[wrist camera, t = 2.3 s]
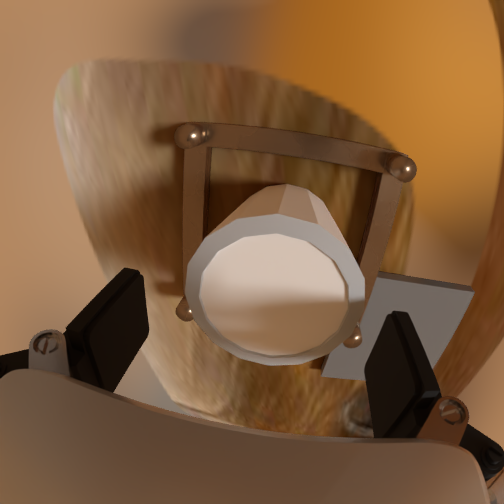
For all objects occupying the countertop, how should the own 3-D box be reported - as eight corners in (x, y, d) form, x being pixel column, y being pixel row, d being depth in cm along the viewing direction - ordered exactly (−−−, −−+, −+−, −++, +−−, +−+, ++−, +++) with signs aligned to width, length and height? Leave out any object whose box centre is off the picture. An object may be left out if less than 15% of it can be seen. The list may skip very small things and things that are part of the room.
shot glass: (224, 169, 16) (174, 209, 10) (351, 177, 15) (384, 224, 9) (227, 278, 19) (193, 357, 13) (336, 287, 18) (346, 372, 12)
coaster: (354, 267, 17) (356, 274, 17) (470, 285, 16) (474, 292, 16) (320, 368, 21) (320, 376, 21) (421, 375, 20) (423, 382, 20)
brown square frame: (192, 121, 15) (174, 124, 13) (402, 152, 14) (418, 160, 12) (188, 296, 20) (176, 319, 18) (354, 323, 19) (358, 349, 17)
